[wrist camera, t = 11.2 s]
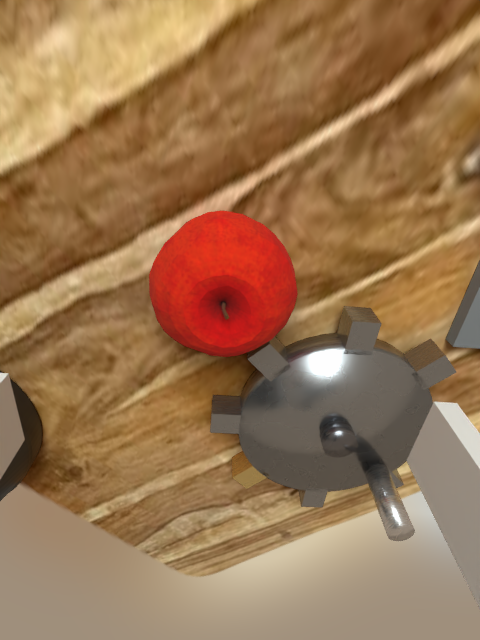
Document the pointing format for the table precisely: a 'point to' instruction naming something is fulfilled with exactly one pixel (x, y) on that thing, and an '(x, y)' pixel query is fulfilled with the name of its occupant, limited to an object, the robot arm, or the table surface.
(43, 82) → the table surface
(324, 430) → the hub
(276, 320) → the apple
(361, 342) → the sprocket
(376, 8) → the table surface
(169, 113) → the table surface
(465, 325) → the seat
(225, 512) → the table surface
